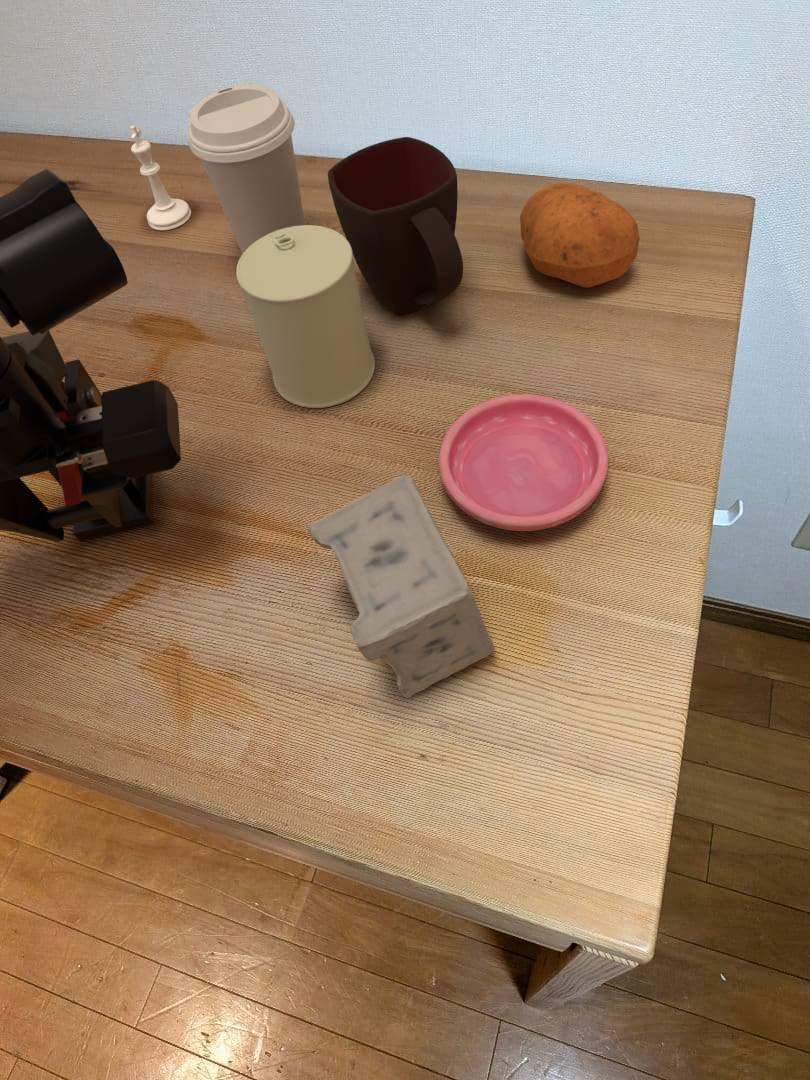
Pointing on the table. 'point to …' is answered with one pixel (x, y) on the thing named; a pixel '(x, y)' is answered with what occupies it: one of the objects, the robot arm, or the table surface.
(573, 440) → the saucer
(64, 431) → the robot arm
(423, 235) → the mug
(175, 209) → the chess piece
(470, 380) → the table surface
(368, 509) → the incense holder
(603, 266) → the potato
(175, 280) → the table surface
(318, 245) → the can
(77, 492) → the lever
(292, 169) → the coffee cup
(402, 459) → the table surface
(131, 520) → the bracket
